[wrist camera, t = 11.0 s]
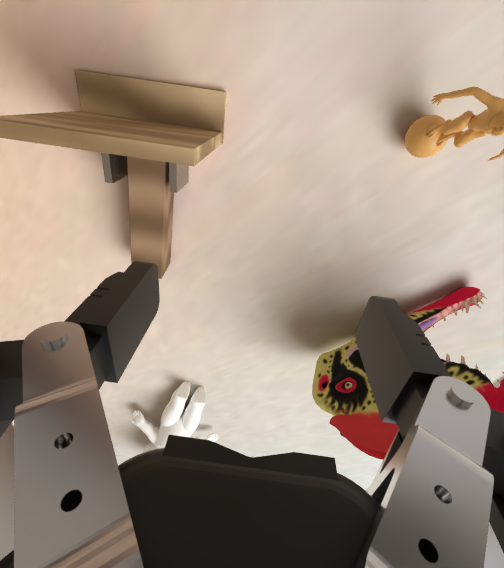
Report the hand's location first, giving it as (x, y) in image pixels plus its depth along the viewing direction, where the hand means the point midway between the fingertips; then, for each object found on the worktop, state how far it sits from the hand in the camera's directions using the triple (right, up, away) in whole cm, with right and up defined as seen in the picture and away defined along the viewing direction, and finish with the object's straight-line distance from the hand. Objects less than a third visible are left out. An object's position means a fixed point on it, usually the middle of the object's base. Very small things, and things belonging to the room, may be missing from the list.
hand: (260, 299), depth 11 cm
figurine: (+19, +18, +21) cm, 33 cm away
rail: (-13, +10, +27) cm, 32 cm away
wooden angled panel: (-11, +20, +21) cm, 32 cm away
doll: (-17, -30, +54) cm, 65 cm away
